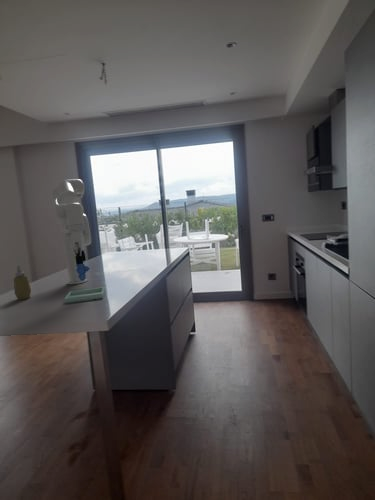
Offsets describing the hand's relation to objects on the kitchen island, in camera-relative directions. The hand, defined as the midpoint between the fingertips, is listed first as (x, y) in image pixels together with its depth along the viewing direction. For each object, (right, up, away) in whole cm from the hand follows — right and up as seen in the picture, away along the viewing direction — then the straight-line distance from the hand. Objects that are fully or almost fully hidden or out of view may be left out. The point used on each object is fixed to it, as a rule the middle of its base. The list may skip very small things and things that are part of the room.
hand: (81, 262), depth 167 cm
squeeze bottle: (-35, -20, +13) cm, 43 cm away
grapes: (+1, -10, +3) cm, 10 cm away
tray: (+2, -18, +3) cm, 18 cm away
